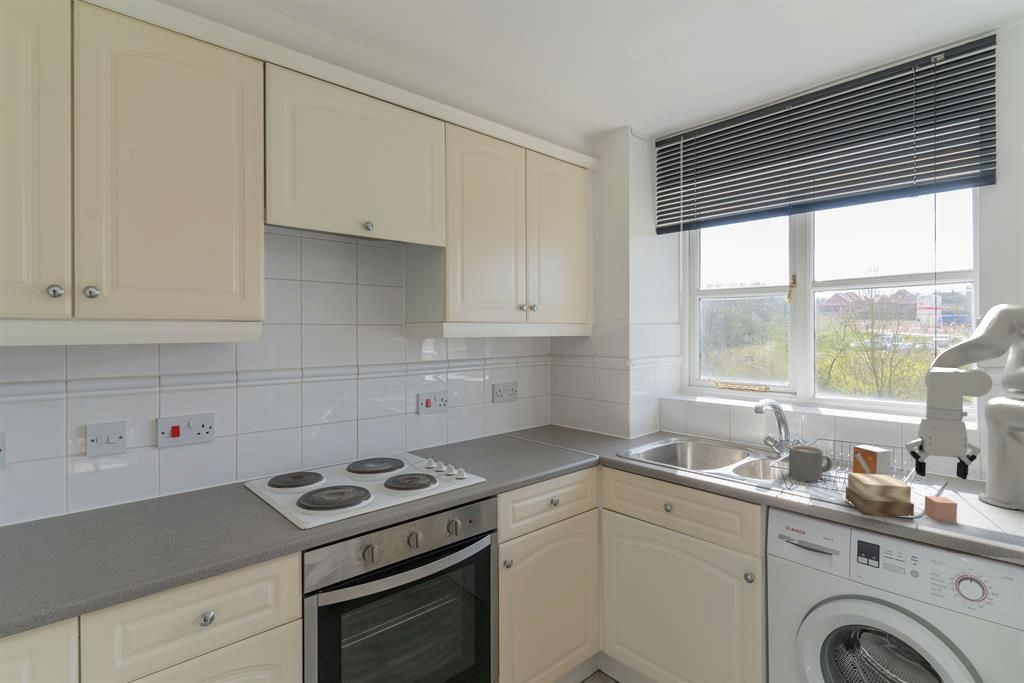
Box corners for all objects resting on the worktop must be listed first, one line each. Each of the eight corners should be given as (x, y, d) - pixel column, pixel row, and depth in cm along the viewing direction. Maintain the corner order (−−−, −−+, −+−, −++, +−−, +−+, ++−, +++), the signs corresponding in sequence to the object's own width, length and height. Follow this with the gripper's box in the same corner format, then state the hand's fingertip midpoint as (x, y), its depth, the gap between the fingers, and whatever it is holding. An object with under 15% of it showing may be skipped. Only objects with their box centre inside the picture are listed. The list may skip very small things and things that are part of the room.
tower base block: (890, 504, 150) (891, 489, 150) (913, 520, 138) (913, 504, 138) (845, 501, 153) (845, 487, 153) (864, 516, 141) (864, 500, 141)
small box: (851, 484, 167) (853, 445, 167) (866, 482, 169) (867, 444, 169) (875, 492, 160) (877, 451, 159) (890, 490, 162) (891, 450, 161)
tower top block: (889, 490, 150) (889, 475, 150) (910, 503, 139) (910, 487, 139) (848, 487, 152) (848, 472, 152) (865, 500, 141) (865, 484, 141)
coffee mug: (792, 480, 172) (792, 451, 172) (786, 472, 181) (786, 444, 181) (837, 484, 168) (838, 454, 167) (828, 475, 177) (829, 447, 177)
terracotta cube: (945, 514, 142) (945, 497, 141) (956, 521, 137) (957, 503, 136) (924, 513, 143) (925, 495, 142) (935, 520, 138) (935, 502, 138)
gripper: (971, 414, 140) (968, 475, 141) (900, 410, 144) (897, 470, 145) (990, 419, 133) (987, 483, 134) (915, 415, 137) (912, 477, 137)
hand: (940, 476), depth 139 cm, fingers open, 9 cm apart
